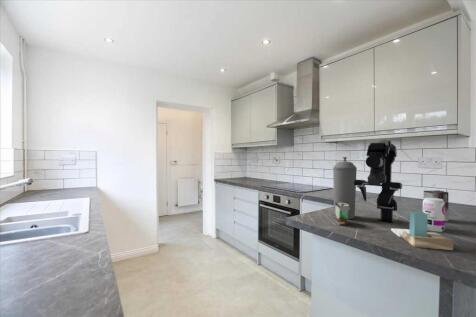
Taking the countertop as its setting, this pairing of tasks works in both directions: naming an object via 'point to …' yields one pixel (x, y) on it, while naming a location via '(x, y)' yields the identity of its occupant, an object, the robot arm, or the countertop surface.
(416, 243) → the oak rack
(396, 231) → the white pad
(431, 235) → the offcut top
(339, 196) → the canister
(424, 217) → the teal rectangular block
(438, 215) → the supplement can
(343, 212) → the food container
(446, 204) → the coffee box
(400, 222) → the countertop surface
